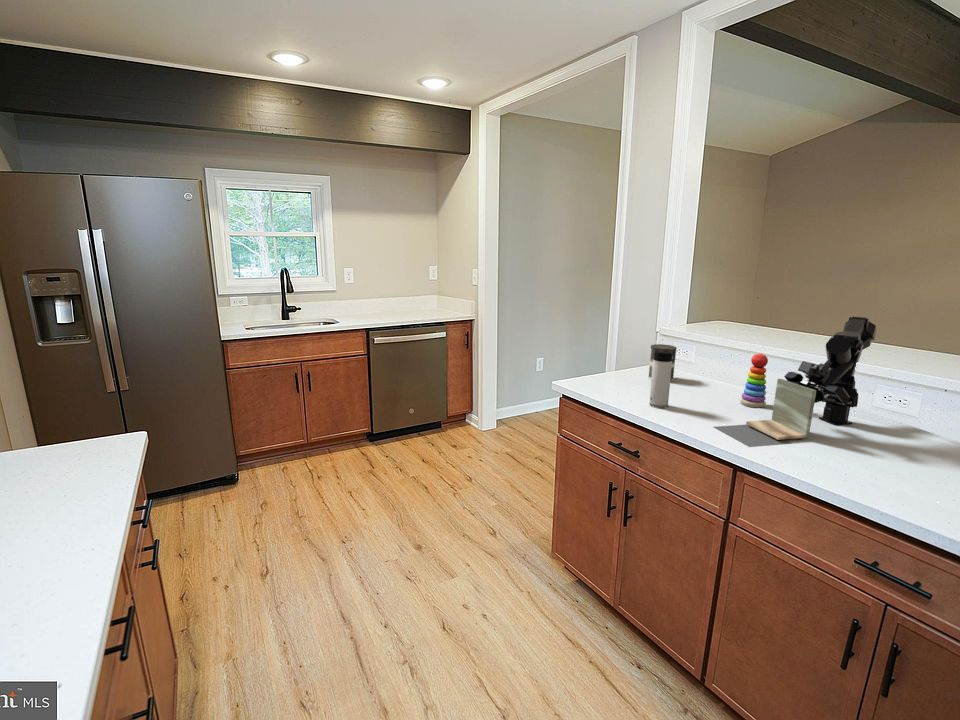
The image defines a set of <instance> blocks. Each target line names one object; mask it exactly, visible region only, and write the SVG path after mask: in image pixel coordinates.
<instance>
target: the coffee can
mask: <svg viewBox="0 0 960 720" xmlns="http://www.w3.org/2000/svg"><path fill="white" fill-rule="evenodd" d="M677 349H678V348H677V347H676V346H674V345H671V344H670V345H669V344H662V343H661V344H660V343H657V344H651V345H650V355H649V367H648V377H649V378H650V379H649V378H648V379H649V380H651V378H652V366H653V357H654V352H655V351H658V352H670V353H673V356H672V368H671V378H670V380H672V381H674V374H675V363H676V362H675V361H676V354H677Z"/></svg>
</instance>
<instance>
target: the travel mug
mask: <svg viewBox="0 0 960 720" xmlns="http://www.w3.org/2000/svg"><path fill="white" fill-rule="evenodd" d="M672 356H673V353H670V352H658V351H655V352H654V357H653V366H652V378H651V379H650V380H651V381H650V390H649V391H650V392H649V401H648V402H649V404H650V405H651V406H650V405H649V406H650V407H652V406H654V407H653V408H655V407H658V409H666V408H668V407H669V398H670V385H671V381H670V378H671V368H672ZM665 407H666V408H665Z"/></svg>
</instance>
